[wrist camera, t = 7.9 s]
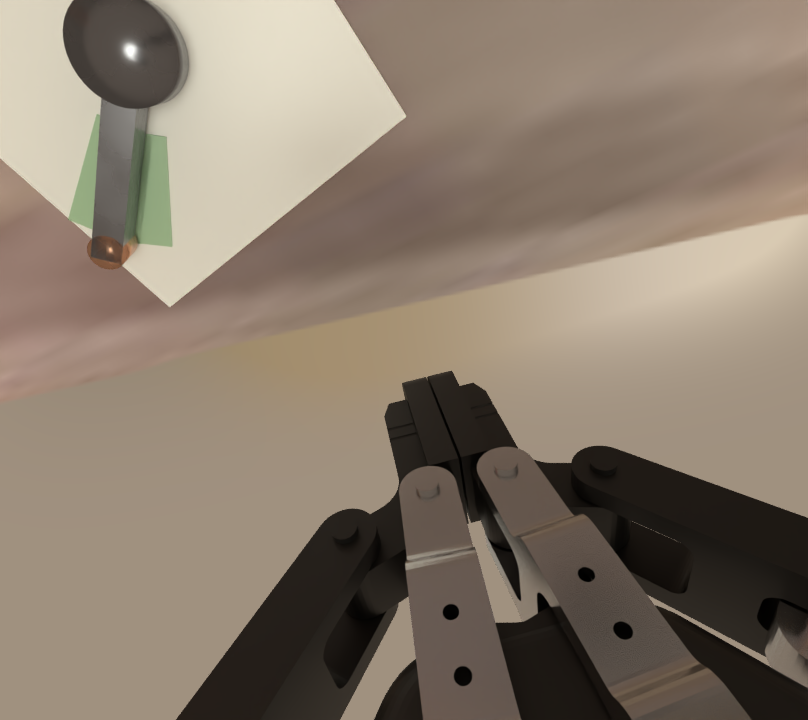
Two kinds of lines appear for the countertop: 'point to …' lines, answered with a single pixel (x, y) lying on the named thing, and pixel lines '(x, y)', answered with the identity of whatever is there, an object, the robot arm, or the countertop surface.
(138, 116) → the metal serving spoon
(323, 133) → the dial plate
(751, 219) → the countertop surface
